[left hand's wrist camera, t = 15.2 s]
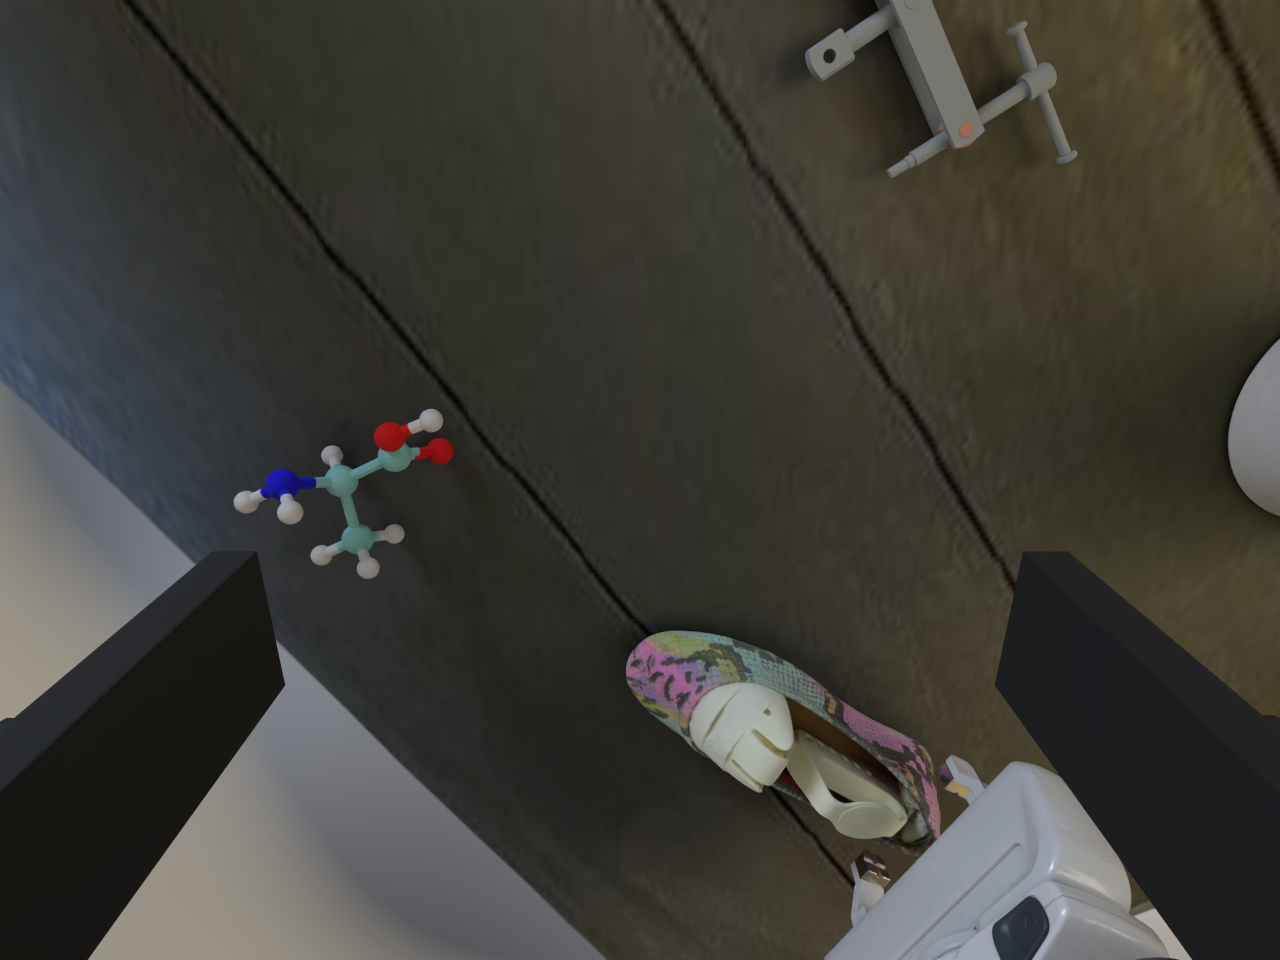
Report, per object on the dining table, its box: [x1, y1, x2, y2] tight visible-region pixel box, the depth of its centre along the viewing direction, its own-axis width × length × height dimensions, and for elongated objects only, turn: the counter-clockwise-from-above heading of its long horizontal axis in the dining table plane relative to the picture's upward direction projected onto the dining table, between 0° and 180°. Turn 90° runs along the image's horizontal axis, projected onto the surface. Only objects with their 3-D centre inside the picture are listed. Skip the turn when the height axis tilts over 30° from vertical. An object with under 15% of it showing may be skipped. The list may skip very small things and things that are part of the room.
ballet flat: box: [626, 631, 940, 857], centre depth 48 cm, size 8×24×9 cm, turn 59°
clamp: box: [805, 0, 1077, 179], centre depth 37 cm, size 15×2×10 cm
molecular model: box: [234, 409, 454, 579], centre depth 42 cm, size 12×10×10 cm
